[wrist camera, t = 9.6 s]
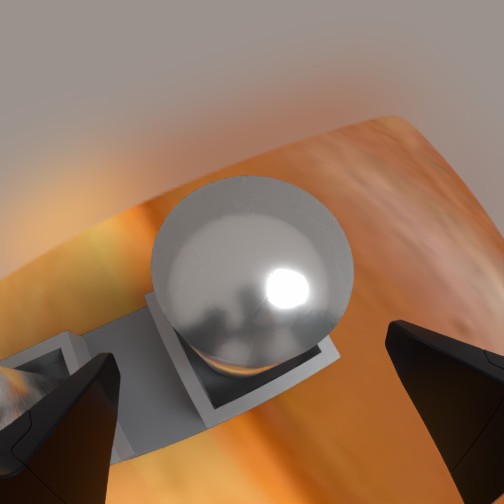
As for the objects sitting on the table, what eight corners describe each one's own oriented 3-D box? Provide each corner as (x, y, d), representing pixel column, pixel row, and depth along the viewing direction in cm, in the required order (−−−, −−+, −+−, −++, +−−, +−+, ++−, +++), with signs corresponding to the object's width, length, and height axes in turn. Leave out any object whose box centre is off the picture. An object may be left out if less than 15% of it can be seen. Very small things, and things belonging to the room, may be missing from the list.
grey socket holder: (49, 478, 13) (24, 487, 10) (8, 372, 16) (-20, 366, 13) (327, 363, 19) (347, 357, 16) (265, 256, 22) (271, 233, 19)
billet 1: (78, 462, 13) (-51, 500, 3) (24, 420, 14) (-109, 411, 3) (101, 402, 16) (-38, 395, 5) (45, 363, 16) (-91, 315, 5)
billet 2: (278, 379, 17) (359, 364, 6) (195, 375, 17) (136, 352, 6) (280, 301, 19) (343, 185, 8) (201, 296, 19) (170, 171, 8)
